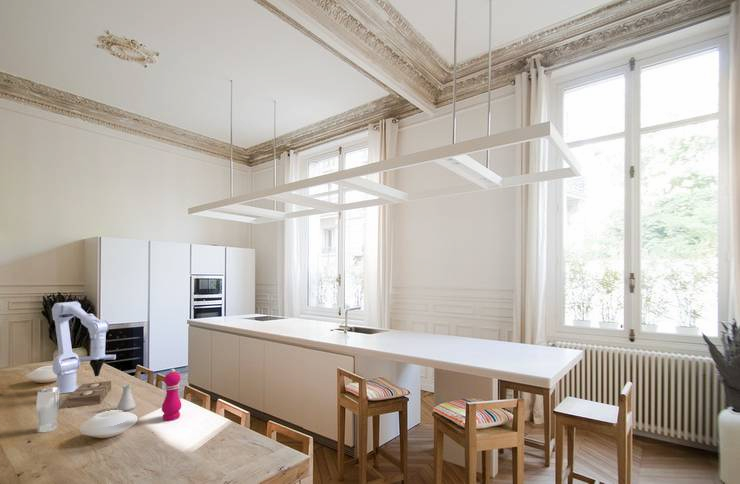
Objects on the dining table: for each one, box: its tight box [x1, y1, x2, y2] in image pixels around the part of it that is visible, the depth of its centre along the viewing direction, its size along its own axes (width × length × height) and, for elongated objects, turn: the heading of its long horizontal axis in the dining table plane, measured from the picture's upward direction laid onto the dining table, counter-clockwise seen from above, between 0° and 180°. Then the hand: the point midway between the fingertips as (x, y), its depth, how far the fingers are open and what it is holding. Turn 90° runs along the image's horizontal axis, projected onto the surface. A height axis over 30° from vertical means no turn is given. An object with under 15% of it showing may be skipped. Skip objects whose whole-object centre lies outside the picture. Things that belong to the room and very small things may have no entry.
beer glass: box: [35, 386, 61, 434], centre depth 146 cm, size 7×7×15 cm
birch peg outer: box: [81, 391, 93, 396], centre depth 174 cm, size 4×4×4 cm
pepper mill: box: [161, 368, 182, 422], centre depth 157 cm, size 7×7×20 cm
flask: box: [116, 384, 137, 412], centre depth 167 cm, size 7×7×10 cm
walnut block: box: [66, 380, 112, 409], centre depth 179 cm, size 22×12×4 cm, turn 23°
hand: (96, 375), depth 182 cm, fingers closed
